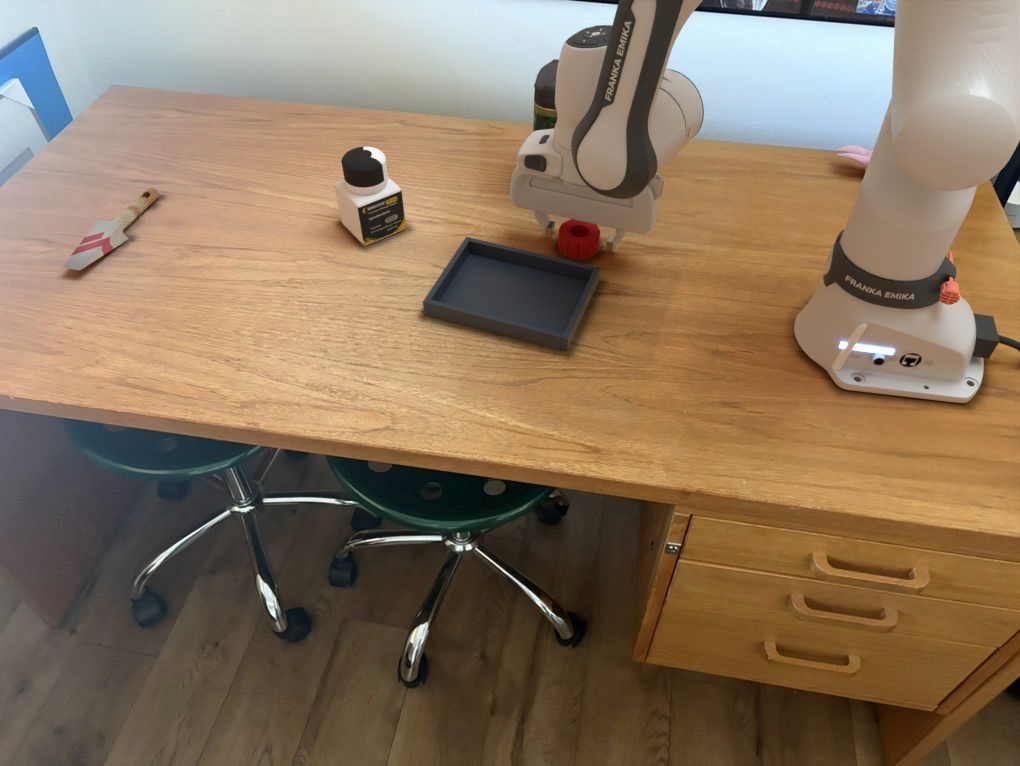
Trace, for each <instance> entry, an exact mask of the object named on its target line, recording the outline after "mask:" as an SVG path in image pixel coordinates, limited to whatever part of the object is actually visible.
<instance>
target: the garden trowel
mask: <svg viewBox="0 0 1020 766" xmlns="http://www.w3.org/2000/svg"><path fill="white" fill-rule="evenodd" d="M158 198H160V193H159V191H158V189H156V188H154V187H148V188H147V189H146V190H145V191H144V192H143V193H142V194H141V195H140V196H139V197H137V199H136V200H134V201H133V202H132V203H131V204H129V206H127V208H125V209H124V210H123V211H122V212H121V213H120V214H119V215H117V217H115V218H114V219H112V220H107V219H101V218H98V219H97V221H96V222H95V223H94V224H93V226H92V227H91V228H90V230H89V231H88V232H87V234H86V235H85V236H84V237H83V238H82V240H81V242H80V243H79V244H78V246H77V247H76V248H75V250H73V252H72V253H71V254H70V256H69V257H68V259H67V260H66V261H65V263H64V264H63V265H62V268H64V269H70V270H75V271H80V272H81V270H83V269H85V268H86V267H88V266H89V265H91V264H93V263H94V262H95V261H97V260H99V259H101V258H102V257H104V256H105V255H106V254H108V253H110V252H111V251H113V250H114V249H116V248H117V247H119V246H120V245H122V244H124V243H125V242H127V241H128V240H130V238H129V237H128V236H127V235H126V234H125V233H124V230H125V229H126V228H127V227H129V225H131V224H132V223H133V222H134V221H135V220H136V219H137V218H138V217H140V215H141V214H142V213H144V211H146V209H148V208H149V207H150V206H151V205H152V204H153V203H154V202H155V201H156V200H157V199H158Z"/></svg>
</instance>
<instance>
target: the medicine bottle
mask: <svg viewBox="0 0 1020 766" xmlns="http://www.w3.org/2000/svg"><path fill="white" fill-rule="evenodd" d="M340 161H341V169H342V173H343V179H340V180H338V181H336V182H334V191H335V195H336V200H337V205H338V206H337V207H338V212H339V216H340V222H341V224H342V225H343V226H344V227H345V228H346V229H347V230H348V231H349V232H350V233H351V234H352V235H353V236H354V237H355V238H356V239H357V240H358V241H359V242H360V244H362V246H364V247H366V246H369V245H372V244H373V243H376V242H378V241H381V240H383V239H385V238H389V237H390V236H393V235H395V234H397V233H400V232H403V231H405V230H406V228H407V225H406V216H405V208H404V207H405V206H404V198H403V192H402V188H401V187H400V186H399V185H398V184H397V183H396V182H395V181H394V180H392V179H391V178H390V177H389V175H388V173H389V172H388V169H387V168H388V166H387V158H386V155H385V153H384V152H383V151H382V150H380V149H379V148H377V147H374V146H359V147H355V148H351V149H349V150H348V151H346V152H345V153H344V154H343V156H342V157H341V160H340Z"/></svg>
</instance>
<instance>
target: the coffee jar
mask: <svg viewBox="0 0 1020 766" xmlns="http://www.w3.org/2000/svg"><path fill="white" fill-rule="evenodd" d="M558 62H559V58H558V59H557V58H556V59H555V58H554V59H552V60H551V61H550V62H548V63H546V64H544V65H543V66H542V67H541V68H540V69H539V71H538V73H537V74H536V78H535V82H534V84H533V88H534V93H533V94H534V95H533V126H532V127H533V128H532V133H533V132H534V131H537V130H545V129H553V128H555V124H556V122H557V110H556V107H555V88H556V76H557V68H558Z"/></svg>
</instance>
